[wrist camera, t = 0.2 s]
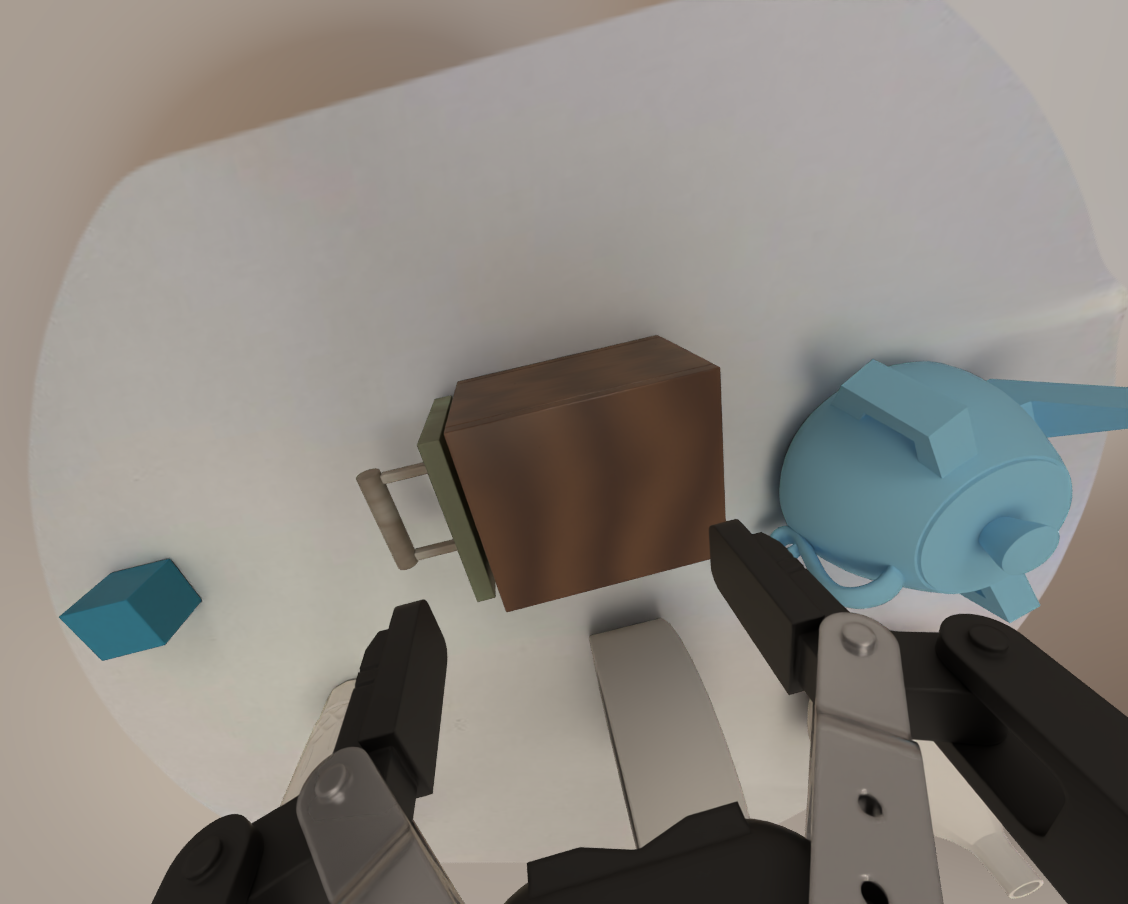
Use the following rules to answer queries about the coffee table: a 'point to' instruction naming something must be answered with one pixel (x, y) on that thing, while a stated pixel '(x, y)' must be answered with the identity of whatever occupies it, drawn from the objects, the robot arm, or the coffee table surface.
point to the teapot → (936, 482)
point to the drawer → (449, 498)
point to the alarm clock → (661, 729)
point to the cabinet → (591, 467)
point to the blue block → (132, 610)
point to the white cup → (321, 738)
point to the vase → (970, 822)
